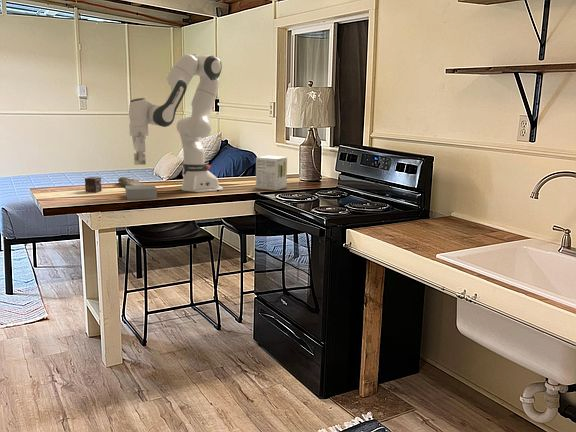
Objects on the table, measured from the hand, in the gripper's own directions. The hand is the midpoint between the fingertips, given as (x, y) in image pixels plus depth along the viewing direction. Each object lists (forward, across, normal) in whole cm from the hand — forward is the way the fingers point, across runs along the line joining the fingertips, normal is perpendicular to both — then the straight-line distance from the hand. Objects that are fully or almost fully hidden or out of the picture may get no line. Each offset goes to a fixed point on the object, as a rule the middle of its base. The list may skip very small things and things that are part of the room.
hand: (139, 160), depth 277 cm
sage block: (+2, 0, 0) cm, 2 cm away
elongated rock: (+19, +32, +1) cm, 37 cm away
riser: (+18, 0, 0) cm, 19 cm away
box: (+19, +22, +22) cm, 36 cm away
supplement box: (+19, +12, -73) cm, 76 cm away
